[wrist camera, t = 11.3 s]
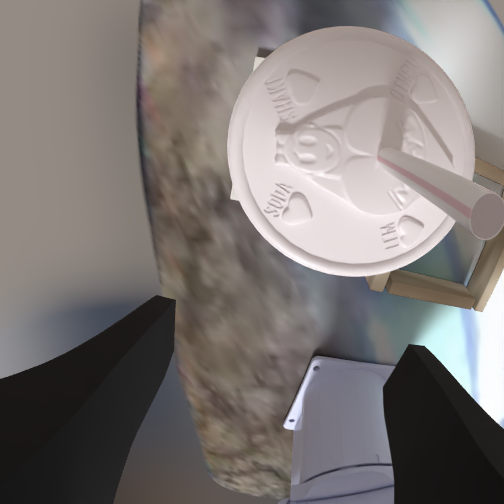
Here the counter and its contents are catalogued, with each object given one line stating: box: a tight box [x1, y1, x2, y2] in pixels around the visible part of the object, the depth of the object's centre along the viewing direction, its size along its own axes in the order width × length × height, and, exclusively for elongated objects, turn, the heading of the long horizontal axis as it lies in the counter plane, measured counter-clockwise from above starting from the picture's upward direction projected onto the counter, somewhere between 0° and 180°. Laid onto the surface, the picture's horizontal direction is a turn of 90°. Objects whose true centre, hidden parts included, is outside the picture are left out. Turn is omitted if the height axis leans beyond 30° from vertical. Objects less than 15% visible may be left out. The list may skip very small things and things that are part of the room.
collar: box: [365, 157, 504, 312], centre depth 16 cm, size 9×9×2 cm
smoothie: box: [227, 26, 504, 277], centre depth 9 cm, size 6×6×14 cm
